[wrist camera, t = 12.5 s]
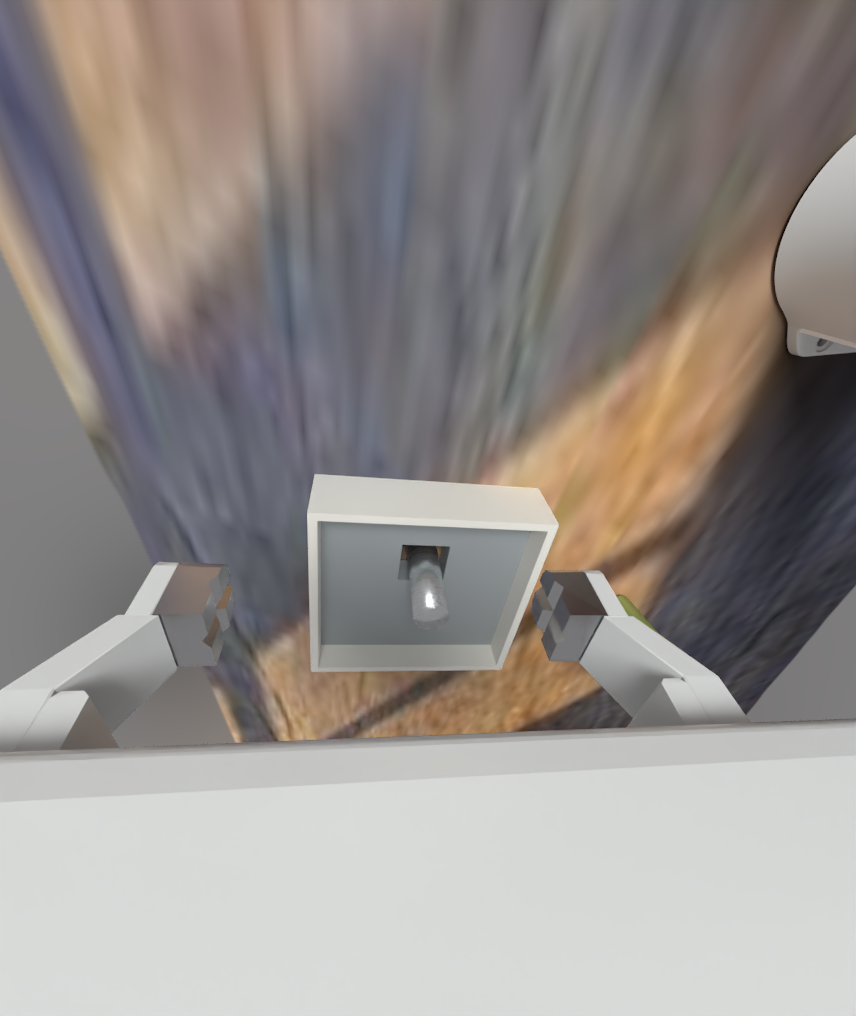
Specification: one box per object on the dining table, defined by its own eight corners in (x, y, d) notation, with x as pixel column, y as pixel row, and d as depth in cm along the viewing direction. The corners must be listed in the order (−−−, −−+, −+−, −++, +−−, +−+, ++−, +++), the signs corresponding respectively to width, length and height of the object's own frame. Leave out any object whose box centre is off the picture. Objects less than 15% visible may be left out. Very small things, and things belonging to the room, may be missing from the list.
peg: (437, 533, 46) (451, 605, 38) (433, 555, 48) (445, 629, 40) (407, 531, 45) (415, 605, 37) (404, 554, 47) (411, 629, 39)
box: (538, 488, 44) (559, 524, 39) (489, 629, 56) (501, 669, 52) (314, 474, 40) (307, 512, 35) (316, 628, 53) (310, 672, 48)
